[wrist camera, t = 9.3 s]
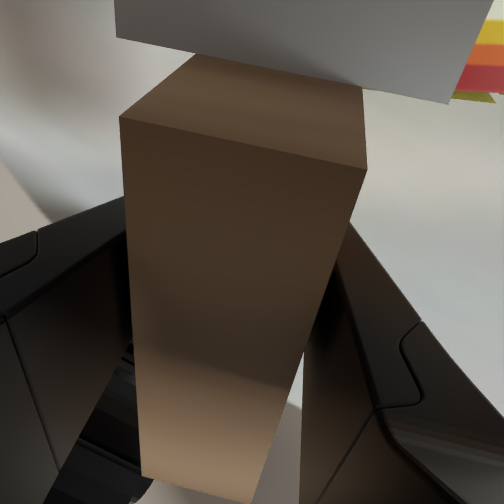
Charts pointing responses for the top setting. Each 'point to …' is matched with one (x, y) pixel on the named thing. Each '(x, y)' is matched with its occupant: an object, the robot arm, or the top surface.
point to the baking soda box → (484, 61)
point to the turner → (253, 202)
